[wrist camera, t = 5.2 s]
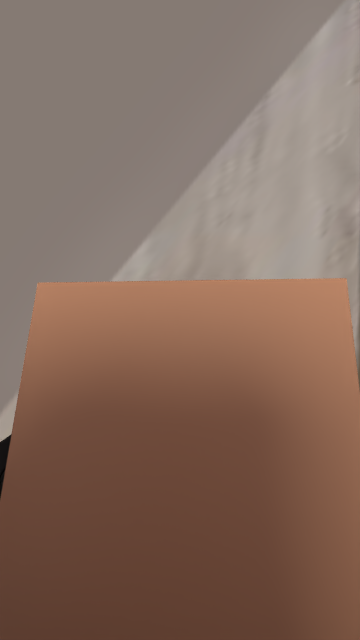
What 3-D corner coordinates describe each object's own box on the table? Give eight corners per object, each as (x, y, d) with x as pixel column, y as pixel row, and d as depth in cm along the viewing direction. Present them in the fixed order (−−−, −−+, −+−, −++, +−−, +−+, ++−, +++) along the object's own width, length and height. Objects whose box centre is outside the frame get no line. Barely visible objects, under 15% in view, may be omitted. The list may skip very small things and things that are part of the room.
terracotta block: (239, 424, 14) (400, 738, 2) (166, 419, 14) (-24, 639, 3) (238, 349, 15) (346, 278, 3) (169, 347, 15) (37, 282, 4)
